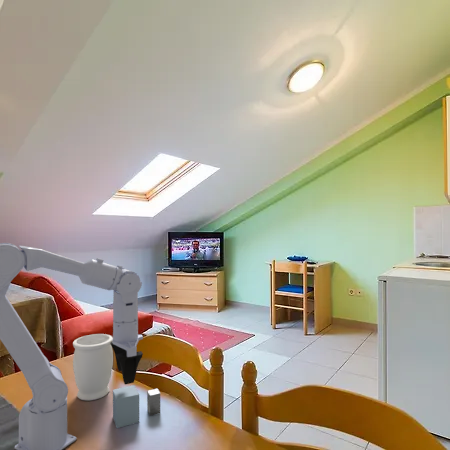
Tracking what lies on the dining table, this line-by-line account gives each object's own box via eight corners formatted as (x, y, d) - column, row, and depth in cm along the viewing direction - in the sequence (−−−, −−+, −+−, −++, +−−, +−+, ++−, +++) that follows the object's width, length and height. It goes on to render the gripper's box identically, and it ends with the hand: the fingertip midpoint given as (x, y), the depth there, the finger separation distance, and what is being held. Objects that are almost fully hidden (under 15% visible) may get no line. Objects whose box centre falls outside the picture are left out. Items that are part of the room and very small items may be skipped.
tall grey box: (116, 428, 76) (116, 399, 76) (112, 416, 81) (112, 389, 81) (139, 422, 78) (139, 394, 78) (134, 411, 83) (134, 384, 83)
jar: (114, 398, 89) (114, 343, 89) (72, 406, 85) (71, 348, 85) (112, 381, 99) (112, 331, 99) (74, 388, 95) (74, 335, 95)
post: (150, 415, 81) (149, 395, 81) (147, 410, 83) (147, 390, 83) (160, 413, 82) (160, 393, 82) (157, 408, 84) (157, 388, 84)
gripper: (149, 325, 75) (150, 385, 75) (135, 310, 88) (135, 362, 88) (117, 330, 72) (117, 392, 72) (107, 314, 85) (108, 367, 85)
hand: (125, 376), depth 80 cm, fingers open, 7 cm apart
